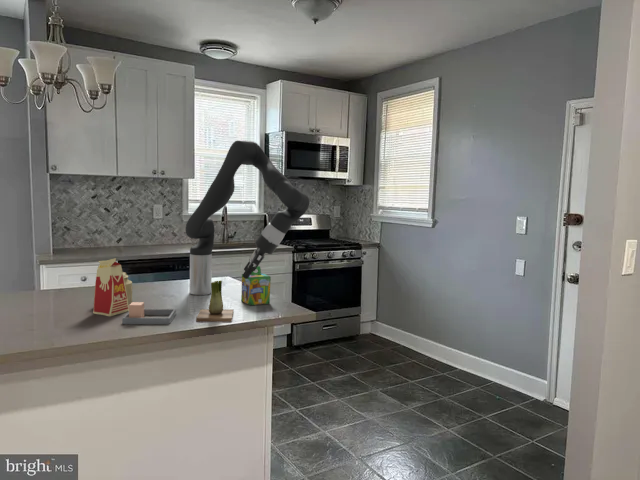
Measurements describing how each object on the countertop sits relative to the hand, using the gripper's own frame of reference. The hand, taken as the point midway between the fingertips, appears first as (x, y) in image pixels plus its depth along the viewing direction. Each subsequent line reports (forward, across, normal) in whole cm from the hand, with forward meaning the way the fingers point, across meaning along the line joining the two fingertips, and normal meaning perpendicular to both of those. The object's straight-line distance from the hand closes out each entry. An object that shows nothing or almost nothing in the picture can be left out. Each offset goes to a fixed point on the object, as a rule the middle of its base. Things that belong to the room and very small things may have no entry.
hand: (245, 274), depth 170 cm
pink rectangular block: (+32, +10, -22) cm, 40 cm away
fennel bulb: (+17, +4, -1) cm, 18 cm away
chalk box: (+13, -18, +12) cm, 25 cm away
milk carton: (+39, -1, -32) cm, 51 cm away
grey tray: (+30, +8, -19) cm, 36 cm away
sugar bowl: (+42, -15, -33) cm, 55 cm away
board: (+18, +4, 0) cm, 19 cm away
